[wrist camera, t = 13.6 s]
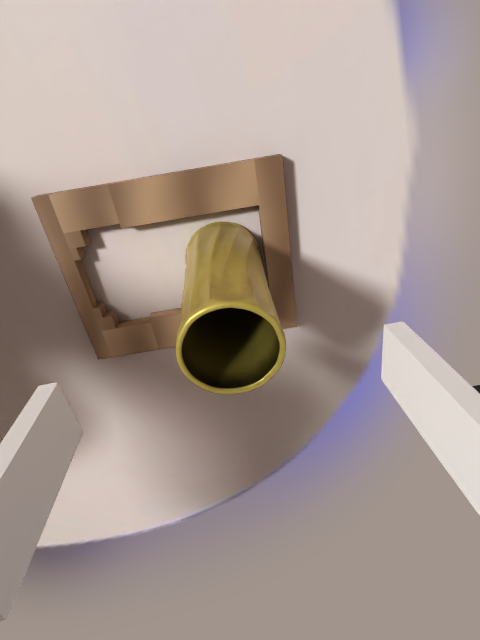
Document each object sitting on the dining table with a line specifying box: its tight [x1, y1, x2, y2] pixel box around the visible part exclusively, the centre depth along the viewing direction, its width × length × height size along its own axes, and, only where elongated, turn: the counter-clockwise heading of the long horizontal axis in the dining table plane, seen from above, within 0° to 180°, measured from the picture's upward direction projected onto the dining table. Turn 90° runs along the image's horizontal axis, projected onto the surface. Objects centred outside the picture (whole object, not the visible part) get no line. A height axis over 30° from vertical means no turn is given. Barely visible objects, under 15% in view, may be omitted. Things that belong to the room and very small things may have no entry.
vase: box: [176, 222, 286, 394], centre depth 23 cm, size 6×6×14 cm
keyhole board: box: [31, 154, 297, 360], centre depth 28 cm, size 18×14×1 cm
